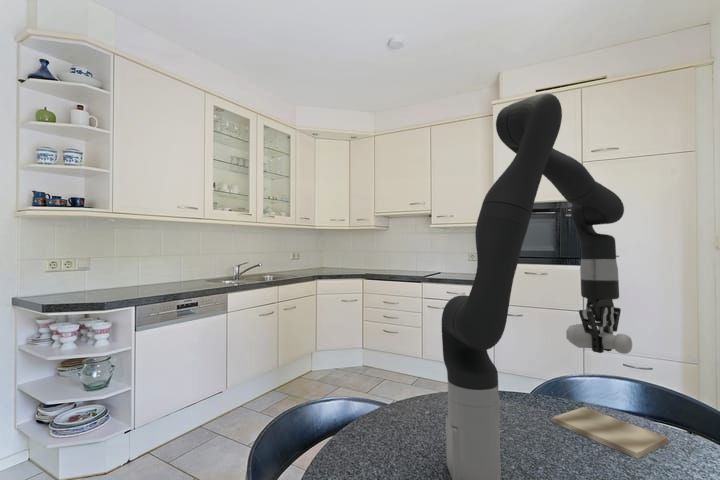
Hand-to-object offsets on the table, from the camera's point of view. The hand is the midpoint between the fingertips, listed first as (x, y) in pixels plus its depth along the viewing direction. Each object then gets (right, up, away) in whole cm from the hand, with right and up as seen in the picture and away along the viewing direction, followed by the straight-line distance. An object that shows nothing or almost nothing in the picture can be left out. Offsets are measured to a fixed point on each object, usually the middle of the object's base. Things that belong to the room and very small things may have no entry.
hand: (602, 350), depth 82 cm
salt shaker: (-4, +2, +7) cm, 8 cm away
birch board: (0, -19, -1) cm, 19 cm away
